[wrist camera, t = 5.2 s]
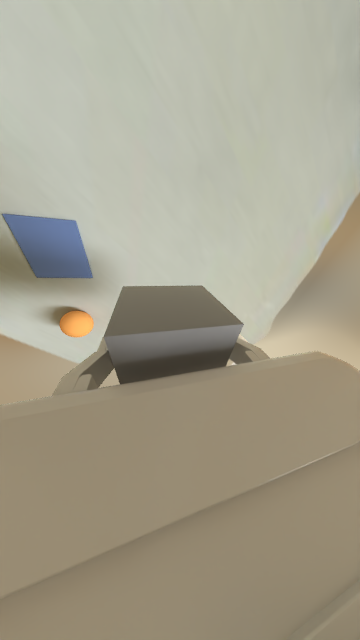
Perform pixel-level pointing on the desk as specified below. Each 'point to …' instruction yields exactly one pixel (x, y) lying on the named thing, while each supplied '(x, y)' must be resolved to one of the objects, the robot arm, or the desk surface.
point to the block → (169, 332)
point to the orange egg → (76, 323)
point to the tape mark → (50, 246)
